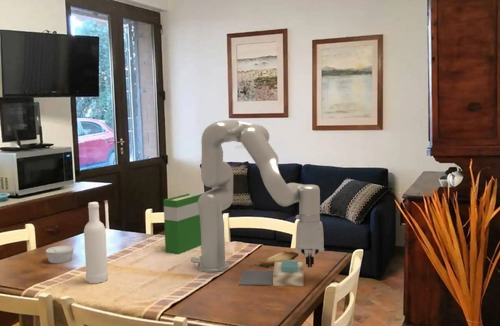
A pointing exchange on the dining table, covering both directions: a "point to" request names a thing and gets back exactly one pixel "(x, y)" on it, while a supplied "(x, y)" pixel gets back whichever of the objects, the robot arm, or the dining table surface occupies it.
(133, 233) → the dining table surface
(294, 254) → the parchment
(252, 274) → the mat
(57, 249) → the ramekin
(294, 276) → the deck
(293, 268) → the tile
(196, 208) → the hardback book
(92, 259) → the bottle
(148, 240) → the dining table surface
